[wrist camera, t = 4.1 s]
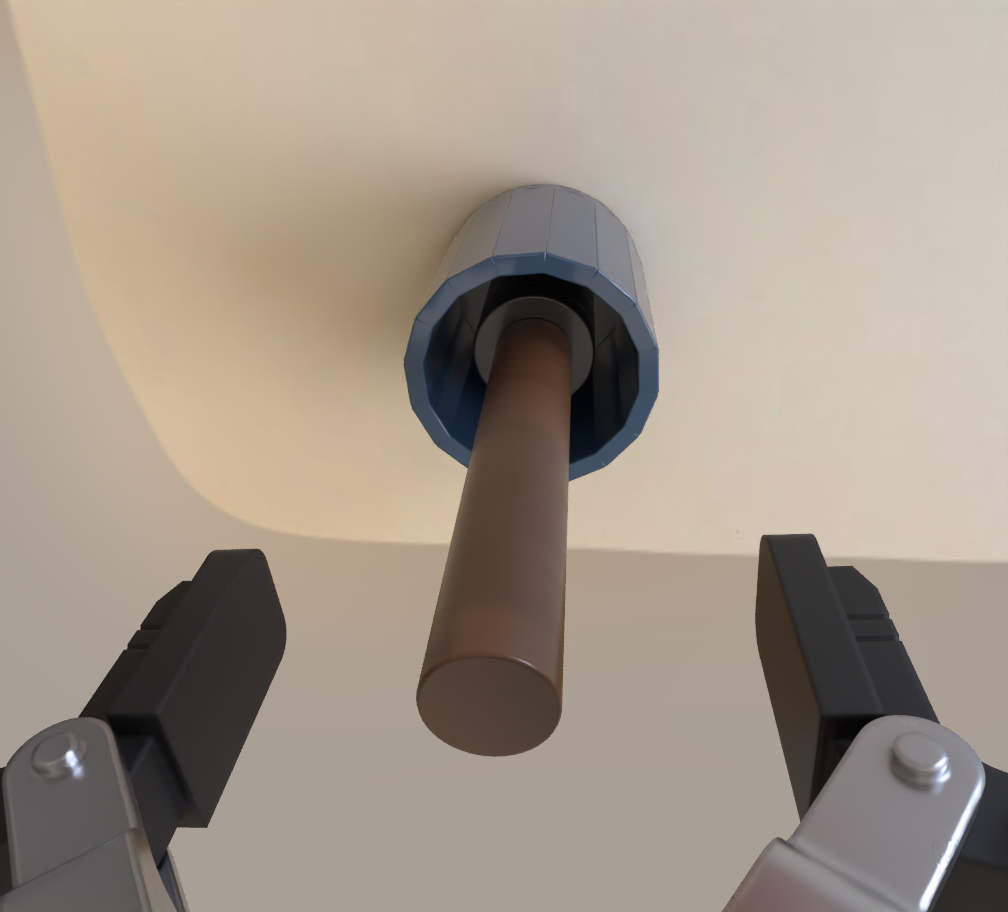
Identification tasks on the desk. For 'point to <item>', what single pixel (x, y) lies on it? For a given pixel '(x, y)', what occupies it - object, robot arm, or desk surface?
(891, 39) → the desk surface
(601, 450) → the brush cup
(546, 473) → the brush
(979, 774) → the robot arm
